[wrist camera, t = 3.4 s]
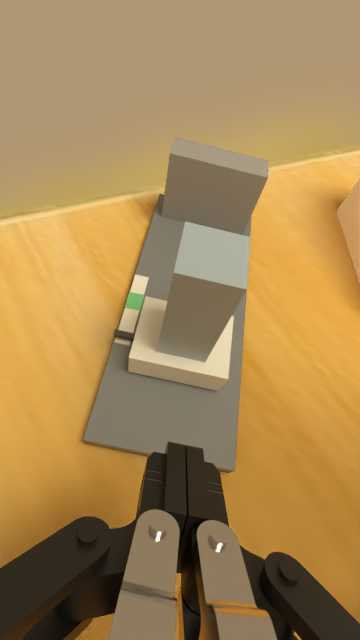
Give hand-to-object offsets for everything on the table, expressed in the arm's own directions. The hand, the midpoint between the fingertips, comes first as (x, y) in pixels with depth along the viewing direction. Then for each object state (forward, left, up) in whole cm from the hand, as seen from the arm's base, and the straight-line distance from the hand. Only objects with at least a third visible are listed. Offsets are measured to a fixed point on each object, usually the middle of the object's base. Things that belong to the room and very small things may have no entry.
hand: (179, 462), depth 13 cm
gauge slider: (+1, -15, -12) cm, 19 cm away
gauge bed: (0, -17, -13) cm, 22 cm away
